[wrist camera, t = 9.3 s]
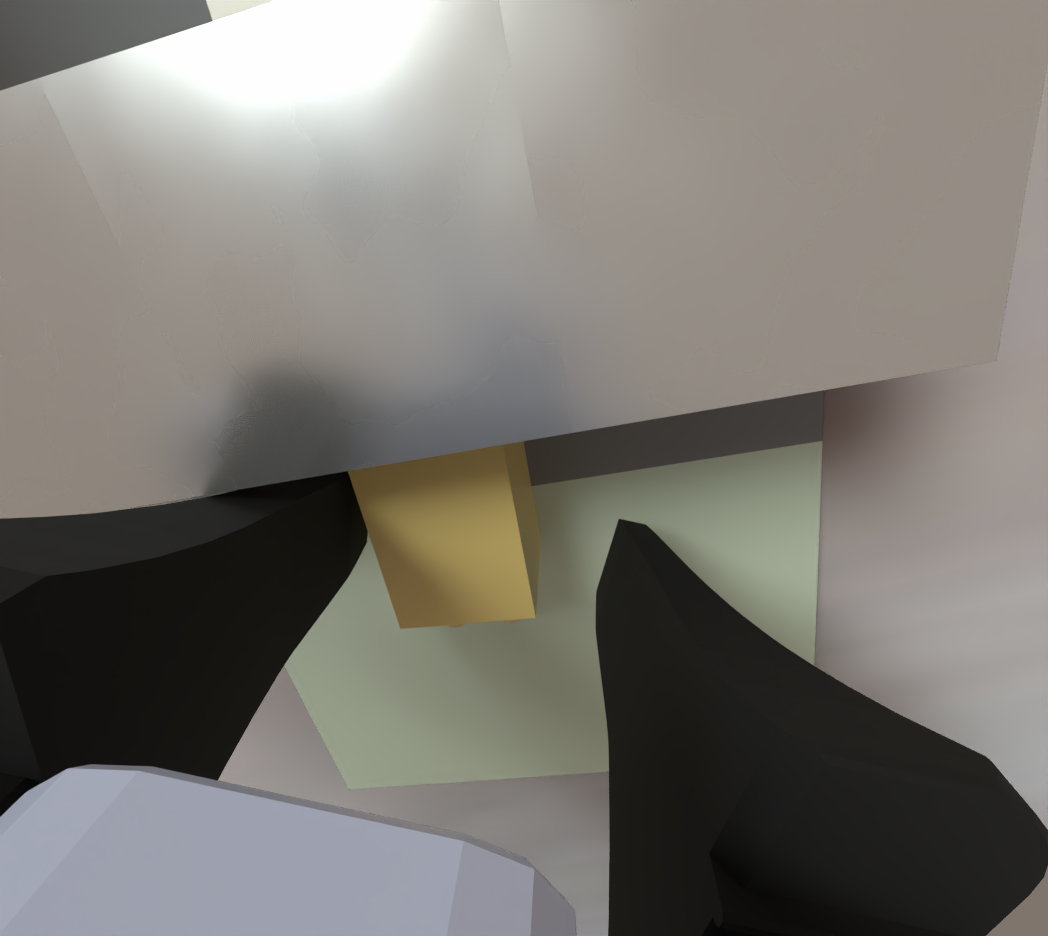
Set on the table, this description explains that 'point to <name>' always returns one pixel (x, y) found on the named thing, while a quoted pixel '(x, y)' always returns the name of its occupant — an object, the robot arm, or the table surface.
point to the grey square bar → (491, 228)
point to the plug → (448, 521)
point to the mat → (565, 531)
